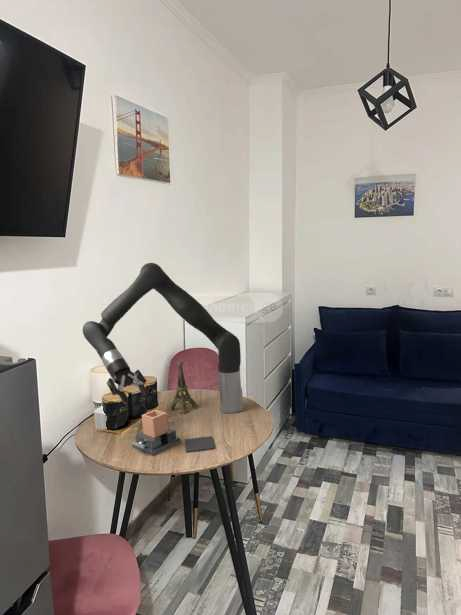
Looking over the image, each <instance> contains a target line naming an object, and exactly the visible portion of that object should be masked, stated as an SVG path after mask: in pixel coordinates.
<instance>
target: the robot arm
mask: <svg viewBox="0 0 461 615" xmlns="http://www.w3.org/2000/svg"><path fill="white" fill-rule="evenodd" d="M152 290H154V291H156V292H157V293H158V294H160V295H161V296H162V297H163V298H164V300H165V301H166V302H167V303H168V305H169V306H170V307H171V308H172V309H173V311H175V312H176V314H177V315H178V316H179V317H181V319H183V320H184V321H185V322H186V323H187V324H188V325H190V326H192V327H193V328H194V329H196V330H197V331H199V332H200V333H202V334H203V335H204V336H205V337H206V338H208V340H209V341H210V342H211V343H212V344H213V345H214V346H215V349H217V351H218V352H217V353H218V364H217V376H218V388H219V391H218V392H219V404H220V405H219V407H220V411H221V413H225V414H234V413H239V412H243V411H244V399H243V388H242V381H241V361H242V360H241V358H242V356H241V344H240V343H241V342H240V339H239V338H238V336H236V335H235V334H234V333H232V332H231V331H229V330H227V329H226V328H225V327H224V326H222V325H221V324H220V323H218V322H217V321H216V320H215V319H214V318H213V316H212V315H211V314H210V313H209V311H208V310H207V309H206V308H205V307H204V306H203V304H201V303H200V302H199V301H198V300H197V299H195V298H194V297H193V296H192V295H191V294H190V293H189V292H187V291H186V290H184V289H183V288H182V287H181V286H180V285H178V284H176V283H175V281H173V280H172V278H170V276H169V275H168V274H167V273H166V272H165V271H164V270H163V269H162V267H161V266H160V265H159V264H157V263H154V262H149V263H148V262H147V263H145V264H144V265H142V267H141V268H140V271H139V274H138V275H137V277H136V278H135V280H134V281H133V282H132V283H131V285H129V286H128V288H127V289H125V290H124V291H123V292H122V293H121V294H120V295H118V296H117V297H116V298H115V299H114V300H113V301H111V302H110V304H108V305H107V307H105V309H104V310H102V311H101V313H100V315H101V320H100V321H99V322H96V321H94V320H90V321H86V322H85V323H84V324H83V326H82V334H83V337H84V338H85V340H86V341H87V342H88V343H89V344H90V345H91V347H92V348H93V349H94V350H95V351H96V353H97V355H98V356H99V358H100V359H101V361H102V364H103V366H104V367H105V369H106V371H107V372H108V374H109V375H110V377H109V378H108V380H107V382H106V385H107V387H108V388H109V390H110V392H111V394H112V395H113V396H117V395H118V396H119V398H120V399H121V402H123V403H125V404H127V402H128V401H130V400H129V398H128V395H127V394H126V392H125V391H124V388H126V387H129V386H133V387H137V388H138V390H139V391H140V393H141V394H142V396H143V397H145V396H147V394H148V389H147V388H146V386H145V384H146V382H147V379H146V378H145V376H144V375H143V374H142V372H141V371H140V370H139V369H136V371H134V372H133V371H132V370H131V366H130V365H129V364H128V362H127V361H126V359H125V357H124V356H123V355H122V353H121V352H120V351H119V349H118V348H117V346H116V345H115V343H114V342H113V340H111V339H110V338H109V337H108V336H109V335H110V334H111V333H112V331H113V330H114V327H115V325H116V324H117V323H118V322H119V321H120V320H121V319H122V318H124V316H125V315H126V314H127V313H128V312H129V311H130V310H131V309H132V308H133V306H135V304H136V303H137V302H138V301H140V299H142V298H143V297H144V296H145V295H146V294H148V293H149V292H151V291H152ZM116 385H117V386H116Z"/></svg>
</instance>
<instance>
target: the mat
mask: <svg viewBox="0 0 461 615" xmlns="http://www.w3.org/2000/svg"><path fill="white" fill-rule="evenodd" d="M215 446H216V445H215V442H214V439H213V436H212V435H209V436H201V437H193V438H184V447H185V453H186V454H187V453H195V452H203V451H211V450H216V447H215Z"/></svg>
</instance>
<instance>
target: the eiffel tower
mask: <svg viewBox="0 0 461 615" xmlns="http://www.w3.org/2000/svg"><path fill="white" fill-rule="evenodd" d="M178 358H179V360H178V362H176V365H177V383H176V384H177V386H175V390H176V392H175V396H174V397H173V398H174V399H173V400H172V402H171V403H170V405H169V406H168V408H167V409H166V411H167V412H170V413H171V412H172V411H175V410H176V406H177V405H179V406H181V408H180V412H179V415H184V416H185V415H187V414H189V411H188V410H187V409H188V408H187V406H186V405H187V404H188V403H189V404H190V405H191V409H199V408H201V406H200V405H198V403H197V402H196V401H195V400H194V399H193V398H192V395H191V394H190V393H189V390H188V387H189V386H188V385H186V384H187V383H186V378H185V375H184V370H183V365H184V362H183V361H181V358H180V355H178ZM184 392H185V394H184ZM187 402H188V403H187Z"/></svg>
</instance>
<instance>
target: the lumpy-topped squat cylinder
mask: <svg viewBox="0 0 461 615" xmlns="http://www.w3.org/2000/svg"><path fill="white" fill-rule="evenodd" d="M93 417H94V427H95V429H96V430H98V429H107V427H106V421H107V416H106V414H105V413H104V411H103V406H102V404H101V405H100V406H99V407H97V408H95V409H94V411H93Z"/></svg>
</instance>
